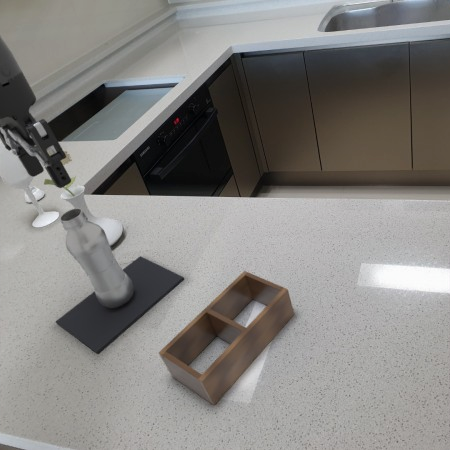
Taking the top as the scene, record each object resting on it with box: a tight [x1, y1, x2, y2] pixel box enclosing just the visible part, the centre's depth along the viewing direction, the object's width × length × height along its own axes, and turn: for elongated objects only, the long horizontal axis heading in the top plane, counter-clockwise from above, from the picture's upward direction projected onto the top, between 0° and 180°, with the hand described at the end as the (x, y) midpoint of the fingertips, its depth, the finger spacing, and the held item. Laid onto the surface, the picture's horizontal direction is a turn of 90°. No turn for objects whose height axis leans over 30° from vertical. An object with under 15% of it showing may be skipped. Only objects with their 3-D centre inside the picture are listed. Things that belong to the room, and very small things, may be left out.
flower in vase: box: [34, 145, 124, 247], centre depth 97 cm, size 13×11×25 cm
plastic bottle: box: [59, 208, 134, 308], centre depth 81 cm, size 6×7×20 cm
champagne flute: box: [0, 139, 60, 228], centre depth 110 cm, size 7×7×24 cm
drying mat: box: [55, 255, 185, 355], centre depth 87 cm, size 20×14×1 cm
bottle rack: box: [158, 270, 295, 406], centre depth 73 cm, size 19×10×6 cm, turn 143°
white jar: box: [24, 186, 45, 203], centre depth 126 cm, size 5×3×5 cm
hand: (50, 179), depth 71 cm, fingers open, 8 cm apart
